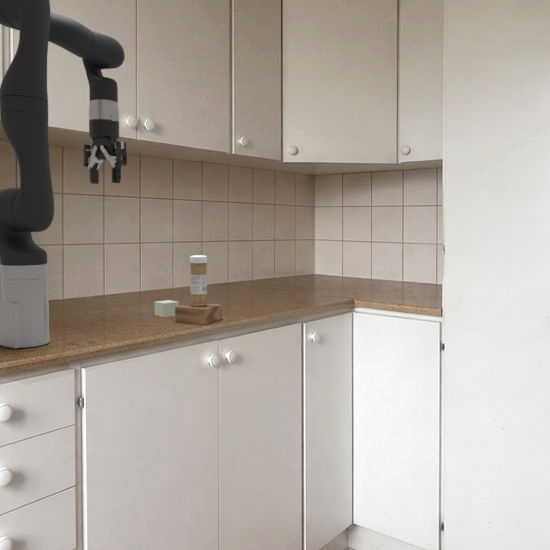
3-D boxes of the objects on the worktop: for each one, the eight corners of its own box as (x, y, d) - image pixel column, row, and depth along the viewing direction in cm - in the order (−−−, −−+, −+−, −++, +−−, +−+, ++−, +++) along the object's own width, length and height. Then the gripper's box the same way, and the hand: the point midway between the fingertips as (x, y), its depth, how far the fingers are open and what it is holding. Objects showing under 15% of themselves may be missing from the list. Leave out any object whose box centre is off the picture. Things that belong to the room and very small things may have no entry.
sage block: (163, 317, 161) (162, 303, 161) (154, 315, 165) (154, 301, 164) (179, 316, 164) (178, 302, 164) (170, 313, 168) (170, 300, 168)
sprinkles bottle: (199, 304, 159) (199, 254, 158) (210, 305, 156) (210, 255, 155) (186, 305, 156) (186, 255, 154) (197, 307, 153) (197, 256, 151)
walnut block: (204, 324, 150) (204, 309, 150) (175, 321, 154) (175, 306, 154) (222, 319, 158) (222, 304, 158) (193, 316, 162) (193, 302, 162)
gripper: (74, 120, 152) (75, 183, 153) (110, 115, 144) (111, 181, 145) (98, 124, 158) (99, 184, 160) (134, 119, 150) (134, 183, 152)
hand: (105, 183), depth 153 cm, fingers open, 8 cm apart
